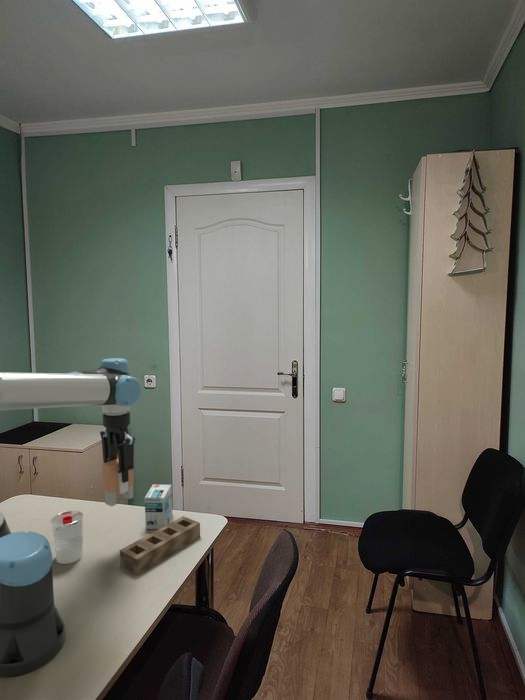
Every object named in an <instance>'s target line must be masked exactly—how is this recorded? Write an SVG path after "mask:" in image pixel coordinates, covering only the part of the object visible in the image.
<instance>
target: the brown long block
mask: <svg viewBox="0 0 525 700" xmlns="http://www.w3.org/2000/svg"><path fill="white" fill-rule="evenodd" d="M199 536H200V537H201V522H199V521H196V520H195V519H194V520H193V519H191V518H189V517H187V516H181V517H179V518H177V519H175V520H173V521H172V522H169V523H168V525H166V526H164V527H162V528H160V529H155V530H154V531H153V532H151V533H149V534H147V535H146V536H144V537H141V538H139V539H138V540H136V541H134V542H132V543H131V544H129V545H127V546H125V547H123V548H121V549H119V563H120V567H122V568H124V569H125V570H128V571H130V572H131V573H133V574H135V575H136V576H138V575H140V574H142V573H144V571H146V570H149V569H150V568H152V567H153V566H155V565H156V564H158V563H159V562H161V561H163V560H164V559H166V558H167V557H169V556H171V555H172V554H174V553H176V552H177V551H179V550H181V549H182V548H184V547H185V546H187V545H189V544H190V542H191V541H192V542H194V541H195V540H197V539H199V538H200V537H199ZM198 537H199V538H198ZM196 538H197V539H196ZM193 540H194V541H193ZM192 542H191V543H192Z"/></svg>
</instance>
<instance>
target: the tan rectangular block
mask: <svg viewBox="0 0 525 700" xmlns="http://www.w3.org/2000/svg"><path fill="white" fill-rule="evenodd" d="M119 470H120V466H119V460H118V458H117V459H115V460H112V461H109V462H106V463H104V462H103V463H102V481H103V483H102V485H103V486H102V487H103V491H104V503H105V505H108V506H109V507H115V506H116V505H117V492H119V482H118V471H119ZM128 478H129V480H128V491H127V492H124V493H122V498H125V499H128V500H130V499H132V498H134V485H135V472H134V468H133V469H131V470H129V471H128Z"/></svg>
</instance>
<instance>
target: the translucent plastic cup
mask: <svg viewBox="0 0 525 700" xmlns="http://www.w3.org/2000/svg"><path fill="white" fill-rule="evenodd" d="M83 517H84V513H83V512H82V511H80V510H67V511H62V512H60V513H58V514H56V515H53V516H52V517H51V519H50V522H51V525H52V534H53V535H52V536H53V538H52V539H53V545H54V551H55V560H56V562H57V563H58V564H60V565H69V564H72V563H75V562H77V561H79V560H81V558H82V557H83V554H84V553H83V551H84V549H83V548H84V546H83V540H84V536H83V534H84V530H83V527H84V526H83Z"/></svg>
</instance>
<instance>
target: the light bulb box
mask: <svg viewBox="0 0 525 700" xmlns="http://www.w3.org/2000/svg"><path fill="white" fill-rule="evenodd" d="M172 486H173V485H172V484H155V483H154V484H152V485H151V487H150V489H149V490H148V492H147V493H146V495H145V496H144V513H145V515H144V516H145V530H158V529H160V528H162V527H164V526H166V525H168V524H169V523H170V520H171V519H172V516H173V488H172Z"/></svg>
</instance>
